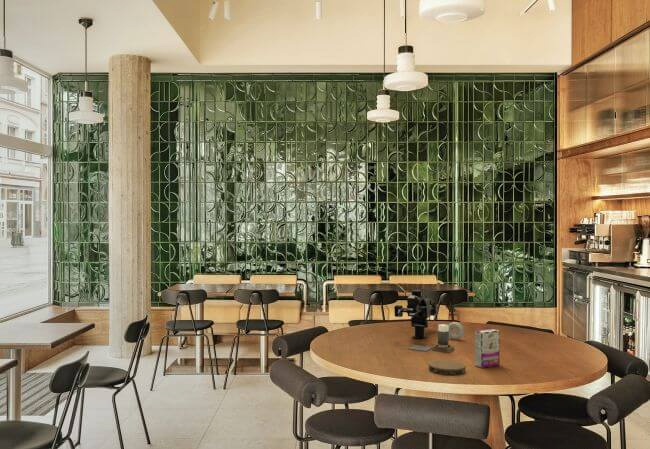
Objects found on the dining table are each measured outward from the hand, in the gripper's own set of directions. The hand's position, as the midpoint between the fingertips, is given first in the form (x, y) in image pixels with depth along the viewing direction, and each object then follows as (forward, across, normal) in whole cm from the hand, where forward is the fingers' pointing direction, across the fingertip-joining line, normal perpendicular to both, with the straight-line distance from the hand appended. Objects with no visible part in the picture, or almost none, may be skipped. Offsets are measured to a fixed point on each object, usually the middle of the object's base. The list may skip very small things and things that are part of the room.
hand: (406, 314), depth 307 cm
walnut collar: (+1, +20, +17) cm, 26 cm away
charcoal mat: (+4, +9, +16) cm, 19 cm away
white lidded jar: (+1, +20, +17) cm, 26 cm away
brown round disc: (+42, +32, +15) cm, 55 cm away
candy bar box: (+24, +46, +16) cm, 55 cm away
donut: (-29, +19, +19) cm, 39 cm away
